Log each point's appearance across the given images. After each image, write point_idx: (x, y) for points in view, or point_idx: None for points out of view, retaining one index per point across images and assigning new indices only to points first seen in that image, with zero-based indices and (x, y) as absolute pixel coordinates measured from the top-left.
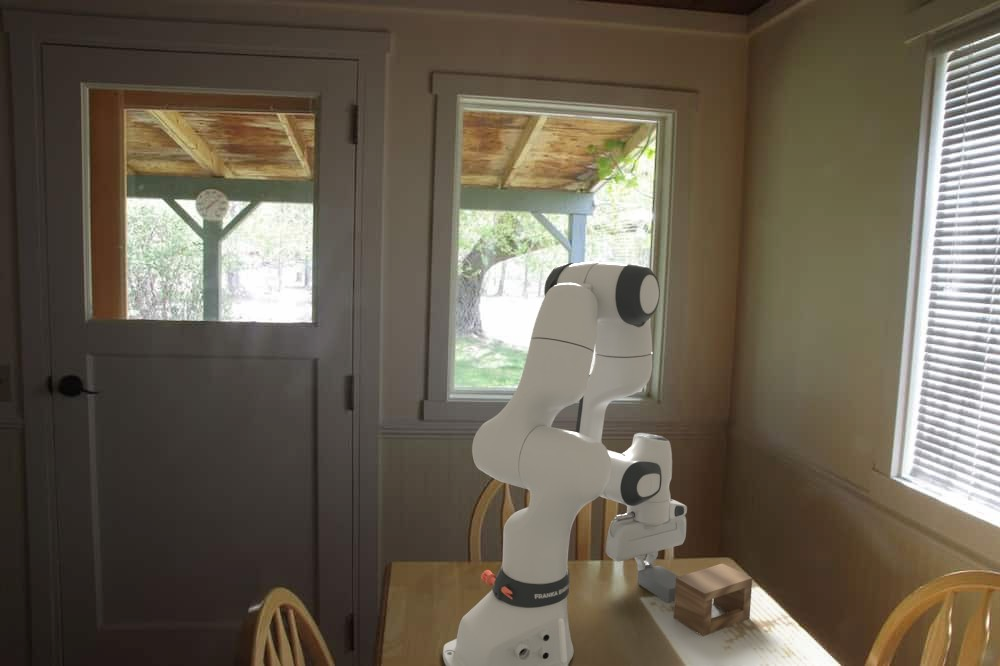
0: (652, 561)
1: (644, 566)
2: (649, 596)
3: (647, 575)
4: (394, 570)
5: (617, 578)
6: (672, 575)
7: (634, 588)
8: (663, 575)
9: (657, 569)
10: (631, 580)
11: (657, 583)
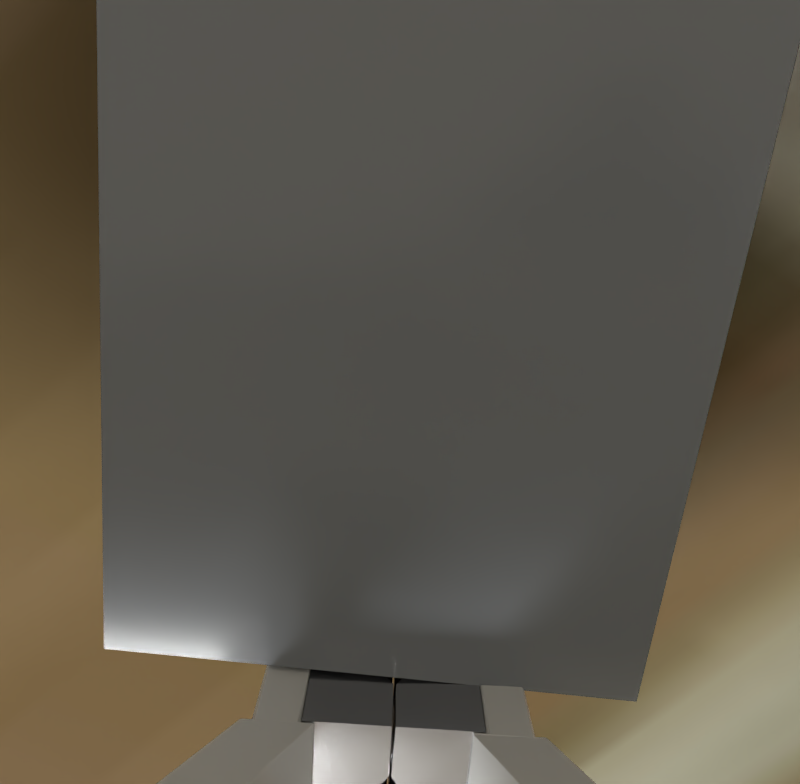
0: (276, 756)
1: (502, 725)
2: (778, 219)
3: (657, 501)
4: None
5: (683, 780)
6: (204, 219)
7: (740, 501)
8: (379, 329)
9: (278, 563)
10: None
11: (760, 172)
